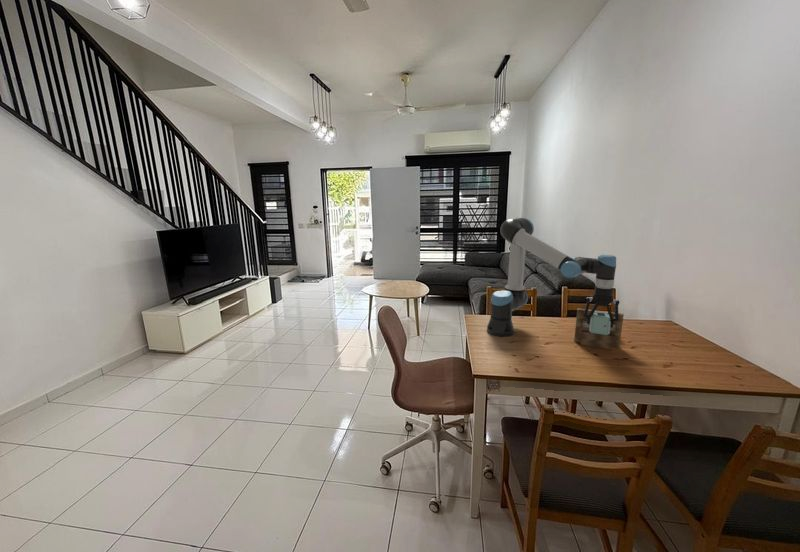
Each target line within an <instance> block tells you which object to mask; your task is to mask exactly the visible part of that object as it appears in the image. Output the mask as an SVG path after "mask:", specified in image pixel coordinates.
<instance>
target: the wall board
mask: <svg viewBox="0 0 800 552" xmlns="http://www.w3.org/2000/svg"><path fill="white" fill-rule="evenodd" d="M591 310H592V309H588V313H587V314H588V315H589V313H590V311H591ZM595 311H598V310H597V309H596V310H595ZM600 311H601V312H607V313H608V311H606V310H605V311H604V310H600ZM584 312H585V308H581V307H580V308H578V307H577V309H576V317H575V319H576V320H575V327H574V330H575V331H574V337H573V341H574V342H575V343H580V345H581V346H588V347H594V348H601V349H605V350H606V349H607V350H612V351H613V349H614V348H615V349H620V345H621V337H622V329H623V323H624V313H621V312H618V321H614V322H613V327H610V333H609V334H608V335H602V334H595V333H591V332H590V331H589V324H587V319H588V318H587V317H584ZM611 313H612V316H613V318H614V317H615V311H613V312H612V311H611ZM608 314H609V313H608ZM609 317H610V316H609ZM591 318H592V317H591Z"/></svg>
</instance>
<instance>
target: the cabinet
mask: <svg viewBox="0 0 800 552" xmlns="http://www.w3.org/2000/svg"><path fill="white" fill-rule="evenodd" d="M601 311H602V310H597V311H595V312H594V313H593V315H592V326H591V333H595V334H602V335H608V328H609V320H610V317H609V314H608V313H607V312H608V311H606V312H601Z"/></svg>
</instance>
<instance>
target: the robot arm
mask: <svg viewBox="0 0 800 552" xmlns="http://www.w3.org/2000/svg"><path fill="white" fill-rule="evenodd" d="M499 229H500V235H501V237H502V238H503V239H504V240H506V241H507V242H508V244H509V259H508V260H509V261H508V270H507V272H508V273H507V284H506V285H504V290H497V291H494V292H492V294H491V297H490V318H489V321H488V323H487V325H486V331H488V332H489V334H490V333H491V334H490V335H492V334H494V335H493V336H496V335H497V336H498V337H509V335H510V336H512V334H513V335H514V334H515V327H514V324H513V320H512V315H513V312H514V311H516V310H519V309H522V308H523V307H525V305H526V304H527V302H528V300H529V296H528V293H527V292H526V287H525V286H524V274H525V264H526V263H525V262H526V253H527V252H529V253H531V254H532V255H534V256H535V257H537V258H539V259H541V260H543V261H545V262H546V263H547V264H550V265H551V266H553V268H556V269H558V270H559V271H560V272H561V274H562V276H564V277H565V278H569V279H570V278H575V277H578V276H580V275H582V274H593V275H595V282H594V285H595V287H594V290H593V296H590V297H589V296H587V297H586V298H585V299H586V305H585V307H584V309H585V312H584V317H587V318H588V319H587V324H589V331H590V332H591V326H592V318H591V317H592V315H593V313H594V312H595V310H597V308H598V307H605V308H606V310H607V312H608V313H609V316H610V320H609V328H608V334H609V333H610V327H613V322H614V321H618V313H619V305H620V300H619V299H614V297H613V295H614V289H613V288H614V286H615V285H614V283H615V276H616V268H617V256H616V255H614V254H613V255H612V254H599V255H598V256H597V258H595V257H594V258H592V257H583V256H572V257H571V256H568V255H567V254H565V253H563V252H562V251H560V250H558V249H556V248H555V247H553V246H551V245H549V244H547V243H546V242H544V241H542V240H540V239H538V238H536V237H535V236H533V233H534V229H535V228H534V224H533V222H532V221H531V220H530V219H529V218H525V217H516V218H515V217H514V218H508V219H506V220H504V222H502V224H501V226H500V228H499ZM592 301H593V302H594V305H593V306H592V308H591V309H590V304H591V302H592ZM611 303H612V304H613V305H614V313H615V317H614V318H613V316H612V313H611V312H612V311H611V307H610V305H611ZM588 310H591V311H590V313H589V315H588V314H587V313H588ZM488 332H487V333H488Z"/></svg>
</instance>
